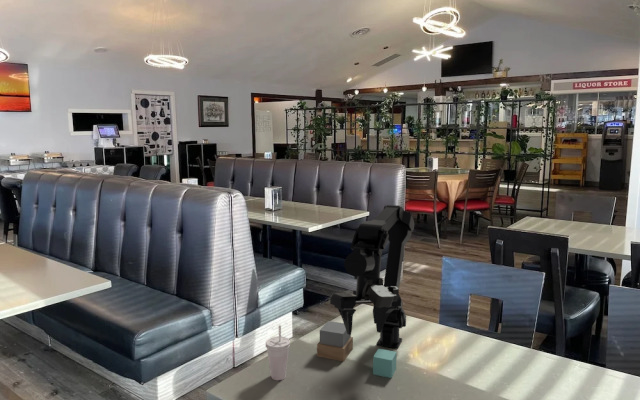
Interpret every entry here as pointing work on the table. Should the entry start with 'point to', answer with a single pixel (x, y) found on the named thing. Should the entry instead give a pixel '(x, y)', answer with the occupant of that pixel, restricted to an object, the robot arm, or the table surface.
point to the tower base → (335, 351)
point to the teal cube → (384, 363)
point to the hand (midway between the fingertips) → (364, 333)
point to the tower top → (334, 334)
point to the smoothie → (278, 355)
